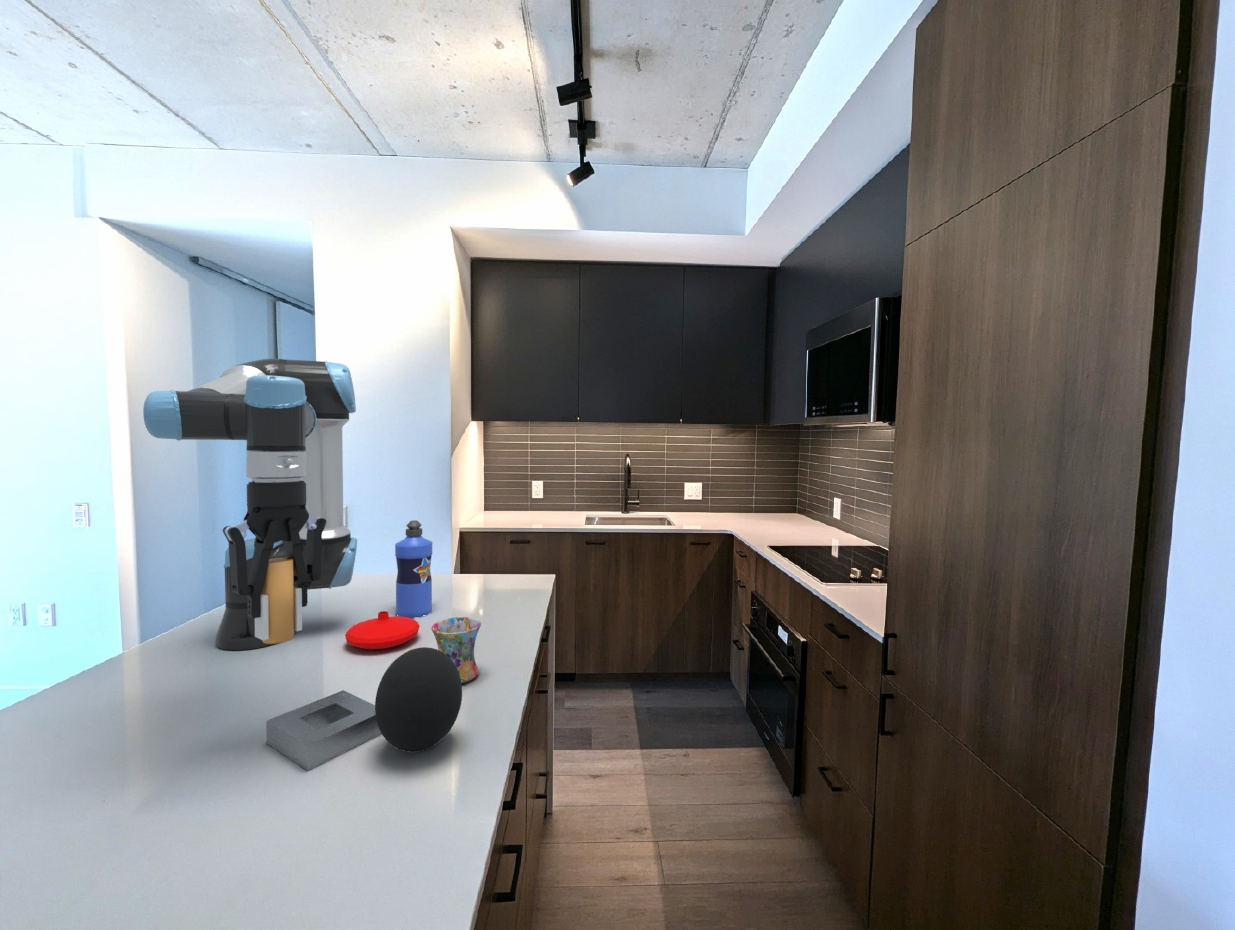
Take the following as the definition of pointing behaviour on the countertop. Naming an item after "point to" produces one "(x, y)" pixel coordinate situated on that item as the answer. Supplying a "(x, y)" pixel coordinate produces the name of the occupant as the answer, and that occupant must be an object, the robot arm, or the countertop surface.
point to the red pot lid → (382, 631)
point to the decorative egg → (418, 699)
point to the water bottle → (413, 573)
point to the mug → (458, 643)
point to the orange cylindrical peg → (280, 600)
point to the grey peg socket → (323, 729)
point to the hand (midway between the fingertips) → (278, 632)
